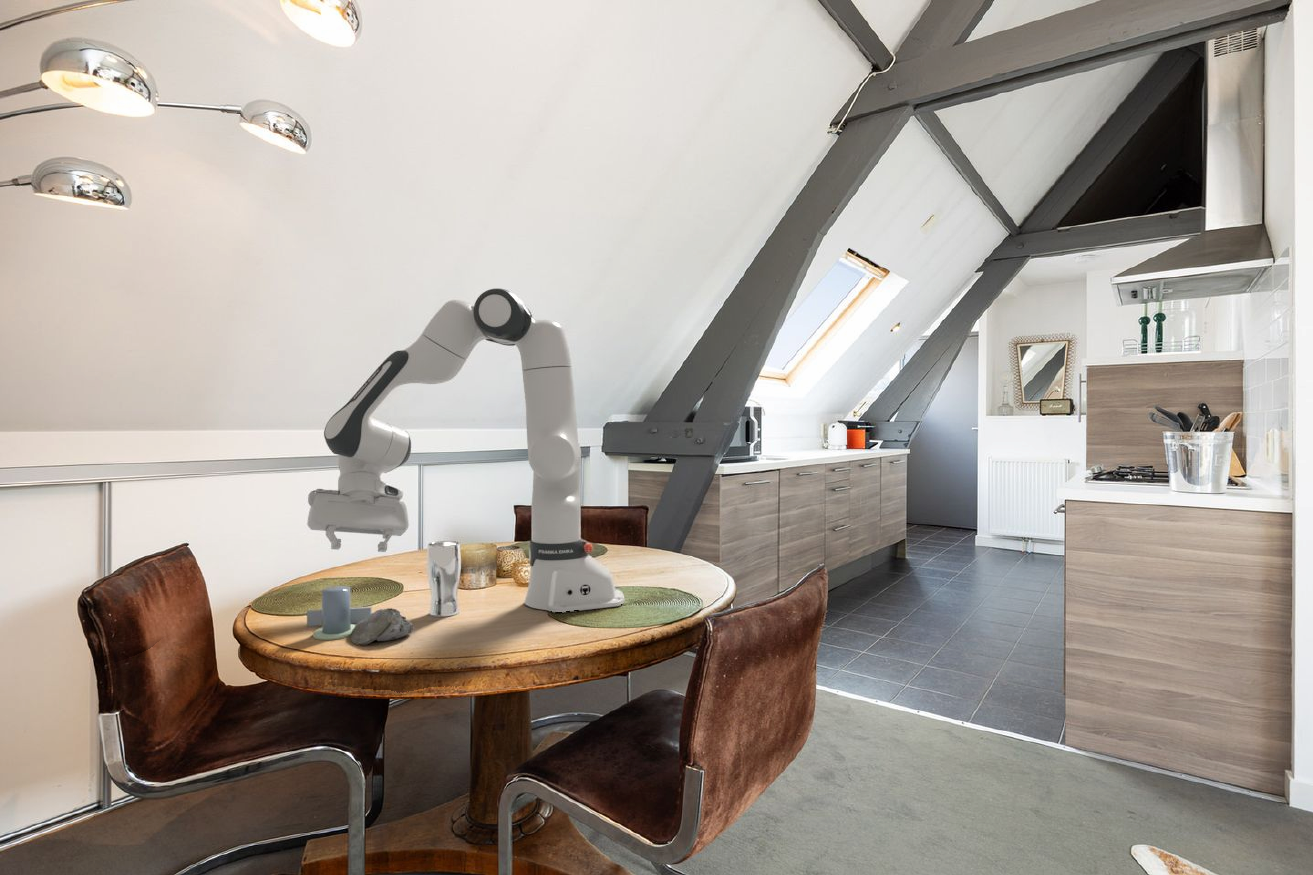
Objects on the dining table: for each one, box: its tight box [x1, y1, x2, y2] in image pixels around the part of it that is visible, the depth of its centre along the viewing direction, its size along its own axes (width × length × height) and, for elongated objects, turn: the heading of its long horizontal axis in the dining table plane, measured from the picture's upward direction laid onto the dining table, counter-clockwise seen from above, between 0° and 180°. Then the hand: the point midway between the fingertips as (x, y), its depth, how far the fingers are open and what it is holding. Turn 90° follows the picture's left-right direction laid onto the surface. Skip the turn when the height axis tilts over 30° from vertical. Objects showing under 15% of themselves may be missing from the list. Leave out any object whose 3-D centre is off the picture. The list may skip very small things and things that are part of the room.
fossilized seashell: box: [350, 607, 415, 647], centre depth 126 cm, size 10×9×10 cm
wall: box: [306, 606, 373, 627], centre depth 134 cm, size 12×1×3 cm, turn 101°
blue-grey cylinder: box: [321, 585, 352, 634], centre depth 128 cm, size 5×5×8 cm
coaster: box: [312, 624, 356, 641], centre depth 128 cm, size 8×8×1 cm
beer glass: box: [426, 540, 462, 618], centre depth 141 cm, size 7×7×15 cm
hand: (359, 549), depth 141 cm, fingers open, 8 cm apart
